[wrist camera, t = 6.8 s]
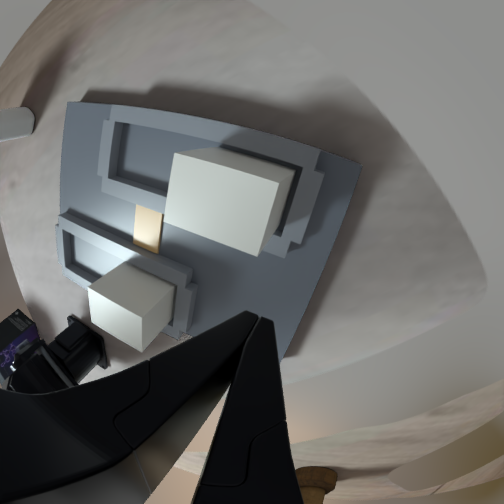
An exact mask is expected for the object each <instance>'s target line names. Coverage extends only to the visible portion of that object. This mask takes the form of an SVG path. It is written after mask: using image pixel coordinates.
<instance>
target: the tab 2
mask: <svg viewBox="0 0 504 504" xmlns="http://www.w3.org/2000/svg"><path fill="white" fill-rule="evenodd" d="M295 173H296V170H295V169H292V168H289V167H286V166H283V165H280V164H276V163H273V162H270V161H267V160H263V159H260V158H257V157H253V156H250V155H246V154H243V153H239V152H236V151H232V150H228V149H225V148H221V147H210V148H203V149H196V150H189V151H182V152H176V153H174V158H173V163H172V169H171V174H170V180H169V187H168V193H167V199H166V206H165V213H164V221H163V222H166V223H168V224H171V225H174V226H176V227H179V228H182V229H184V230H187V231H190V232H192V233H195V234H198V235H200V236H203V237H206V238H208V239H211V240H214V241H216V242H219V243H222V244H224V245H227V246H230V247H232V248H235V249H238V250H240V251H243V252H246V253H248V254H251V255H254V256H256V257H258V255H259V254H260V252H261V251H262V249H263V248H264V246H265V245H266V243H267V242H268V241H269V239H270V238H271V236H272V235H273V233H274V232H275V230H276V229H277V227H278V226H279V225H280V222H281V218H282V215H283V212H284V209H285V205H286V202H287V199H288V196H289V193H290V189H291V186H292V183H293V180H294V176H295Z"/></svg>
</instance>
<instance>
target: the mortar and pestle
mask: <svg viewBox="0 0 504 504" xmlns="http://www.w3.org/2000/svg"><path fill="white" fill-rule="evenodd" d="M295 472H296V476H297V479H298V483H299V486H300V490H301V494H302V497H303V501H304V504H323V500H324V496H325V494H328V493H329V492H331V491H333V490H334V489H335V486H336V481H337V473H336V472H334V471H333V470H330V469H327V468H323V467H302V468H298V469H296V470H295Z"/></svg>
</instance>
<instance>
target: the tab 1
mask: <svg viewBox="0 0 504 504" xmlns="http://www.w3.org/2000/svg"><path fill="white" fill-rule="evenodd" d="M177 287H178V285H176V284H174V283H171V282H169V281H167V280H165V279H163V278H160V277H158V276H156V275H154V274H152V273H150V272H147V271H145V270H143V269H141V268H139V267H137V266H135V265H133V264H131V263H128V262H126V261H124V262H123V263H121V264H120V265H118V266H117V267H115V268H114V269H113V270H111V271H110V272H108V273H107V274H105V275H104V276H102V277H101V278H99V279H98V280H97V281H95V282H94V283H92V284H91V285H89V286H88V297H89V306H90V314H91V321H92V323H94V324H95V325H97V326H98V327H100V328H101V329H103V330H105V331H106V332H108V333H109V334H111V335H113V336H114V337H116V338H118V339H119V340H121V341H123V342H124V343H126V344H128V345H130V346H131V347H133V348H135V349H137V350H138V351H140V352H143V351H144V350H145V349H146V348H147V346H148V345H149V344H150V343H151V342H152V341H153V340H154V339H155V337H156V336H157V335H158V334H159V333H160V332H161V331H162V330H163V328H164V327H165V326H166V325H167V324H168V323H169V322H170V321H171V319H172V318H173V317H174V311H175V303H176V295H177Z"/></svg>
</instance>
